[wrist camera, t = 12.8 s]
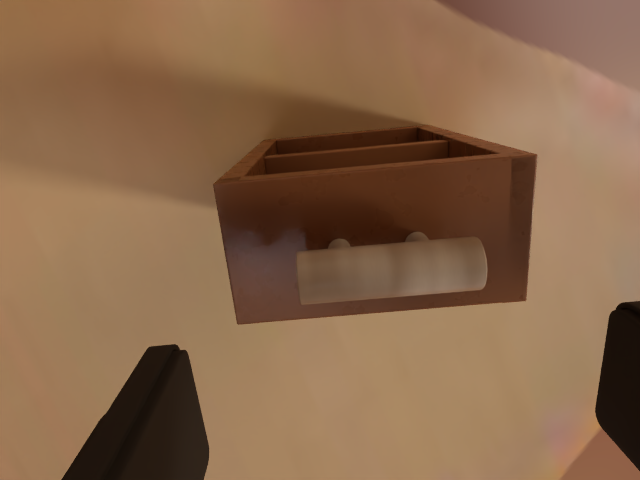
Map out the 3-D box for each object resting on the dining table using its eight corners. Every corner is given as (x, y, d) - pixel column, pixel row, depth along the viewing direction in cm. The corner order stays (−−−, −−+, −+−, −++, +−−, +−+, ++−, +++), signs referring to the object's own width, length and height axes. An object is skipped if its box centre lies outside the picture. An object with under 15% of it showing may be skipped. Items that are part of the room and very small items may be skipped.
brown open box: (263, 139, 31) (185, 206, 12) (428, 124, 31) (596, 169, 12) (273, 218, 33) (219, 376, 14) (428, 205, 33) (574, 348, 14)
